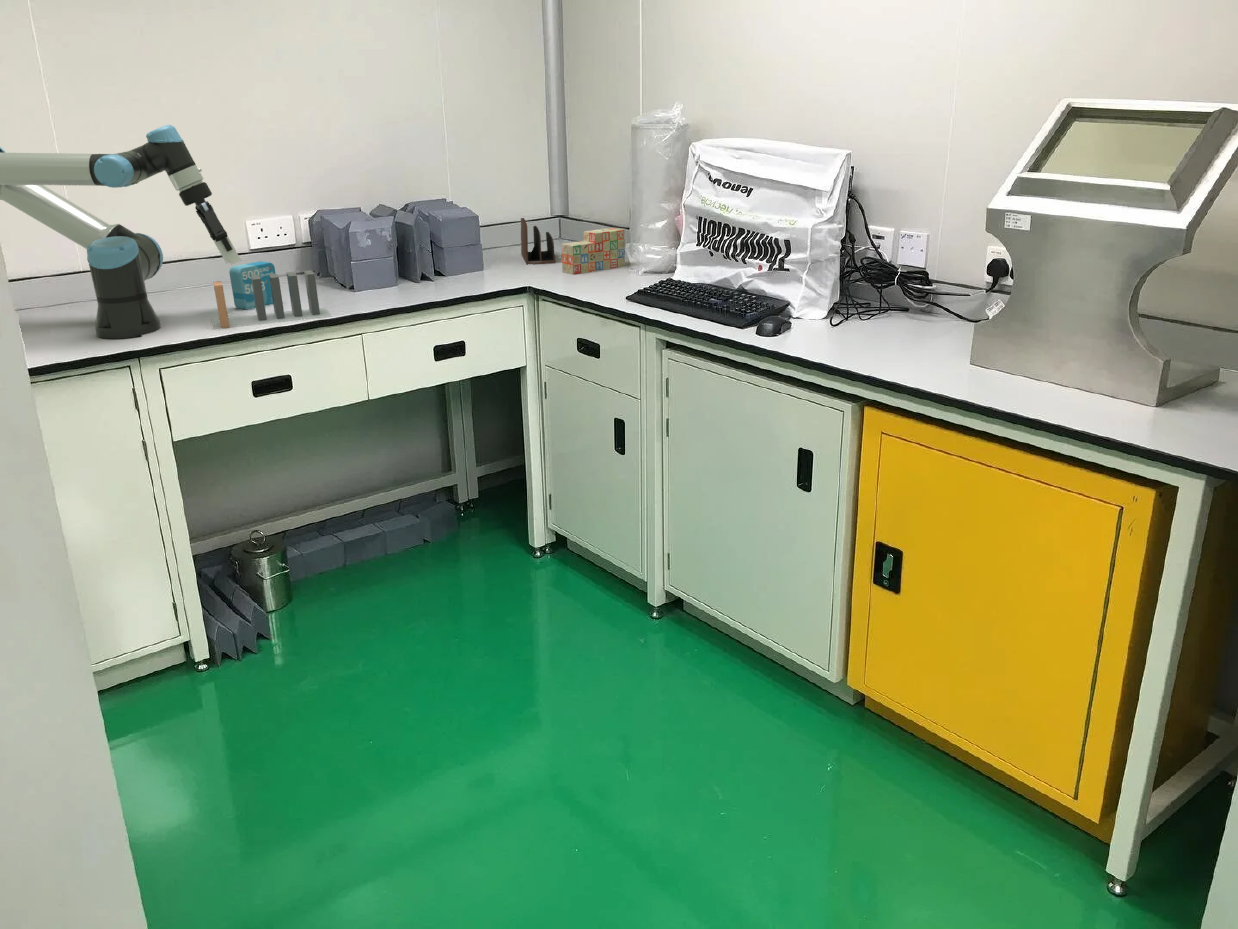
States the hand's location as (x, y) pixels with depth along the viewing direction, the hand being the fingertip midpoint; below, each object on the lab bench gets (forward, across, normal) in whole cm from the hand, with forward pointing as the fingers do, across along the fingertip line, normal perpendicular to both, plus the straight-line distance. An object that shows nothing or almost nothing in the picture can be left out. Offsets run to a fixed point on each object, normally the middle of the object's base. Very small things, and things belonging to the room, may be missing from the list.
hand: (233, 262), depth 264 cm
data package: (+14, +12, -1) cm, 19 cm away
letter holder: (+44, +40, -94) cm, 111 cm away
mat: (+17, -7, -1) cm, 18 cm away
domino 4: (+19, -6, -8) cm, 21 cm away
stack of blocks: (+50, +12, -101) cm, 113 cm away
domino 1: (+13, -9, +10) cm, 19 cm away
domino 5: (+20, -6, -12) cm, 24 cm away
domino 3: (+17, -6, -3) cm, 18 cm away
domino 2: (+16, -6, +1) cm, 17 cm away
